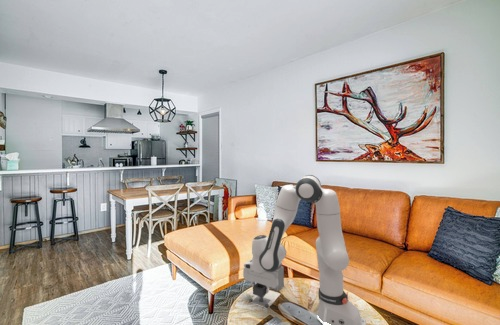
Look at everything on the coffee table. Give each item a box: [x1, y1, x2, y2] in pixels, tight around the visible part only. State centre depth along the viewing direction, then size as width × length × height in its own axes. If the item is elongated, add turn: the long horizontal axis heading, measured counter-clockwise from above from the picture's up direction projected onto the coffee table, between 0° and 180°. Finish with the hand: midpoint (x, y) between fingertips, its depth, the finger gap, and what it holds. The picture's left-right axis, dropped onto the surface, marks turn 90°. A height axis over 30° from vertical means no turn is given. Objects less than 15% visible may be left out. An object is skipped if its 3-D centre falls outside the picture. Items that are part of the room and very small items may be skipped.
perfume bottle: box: [269, 262, 285, 292], centre depth 151 cm, size 7×7×18 cm
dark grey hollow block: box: [252, 283, 267, 297], centre depth 137 cm, size 6×6×4 cm
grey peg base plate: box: [247, 289, 282, 310], centre depth 140 cm, size 12×16×6 cm
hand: (260, 290), depth 137 cm, fingers closed on dark grey hollow block, 6 cm apart
